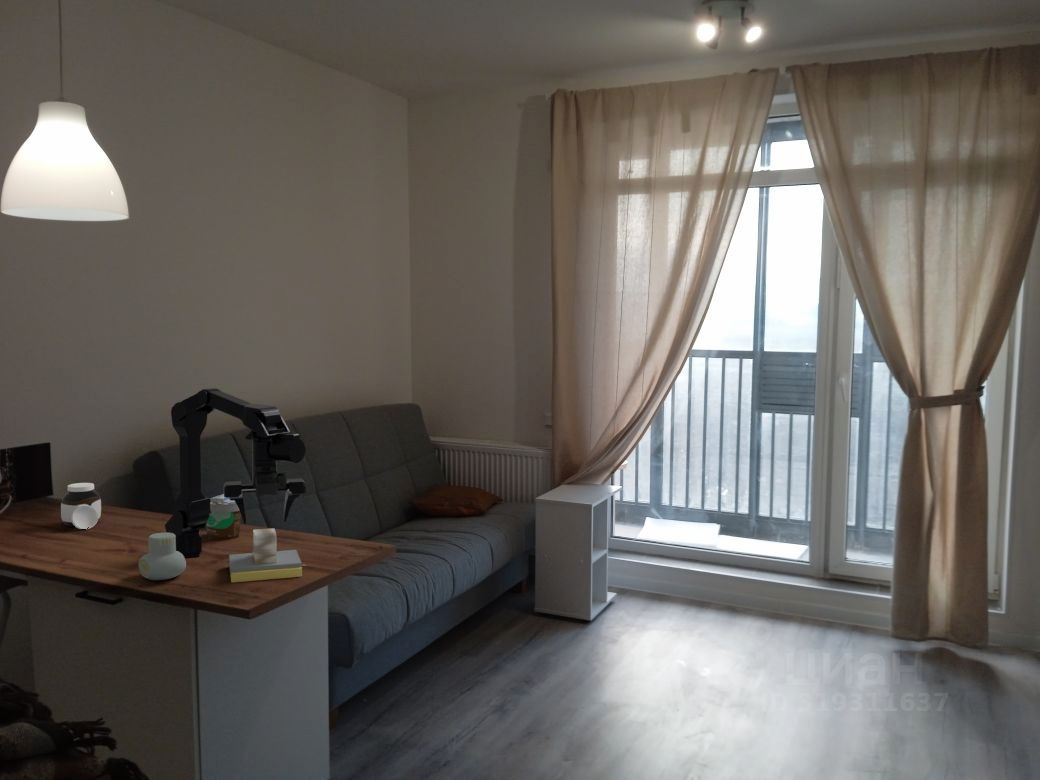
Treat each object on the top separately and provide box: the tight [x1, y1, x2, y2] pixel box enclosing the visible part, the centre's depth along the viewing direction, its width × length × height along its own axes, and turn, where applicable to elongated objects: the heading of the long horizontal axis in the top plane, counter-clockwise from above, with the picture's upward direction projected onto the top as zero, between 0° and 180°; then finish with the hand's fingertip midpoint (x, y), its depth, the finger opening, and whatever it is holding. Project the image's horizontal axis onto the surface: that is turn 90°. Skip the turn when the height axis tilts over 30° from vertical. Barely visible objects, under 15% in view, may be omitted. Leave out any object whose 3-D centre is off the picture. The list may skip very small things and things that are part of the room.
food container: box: [205, 502, 242, 541], centre depth 232 cm, size 12×6×10 cm, turn 68°
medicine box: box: [210, 493, 236, 504], centre depth 247 cm, size 8×4×9 cm, turn 168°
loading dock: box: [228, 549, 303, 583], centre depth 203 cm, size 16×13×3 cm
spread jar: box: [60, 482, 102, 530], centre depth 242 cm, size 12×11×12 cm
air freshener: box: [138, 532, 187, 581], centre depth 197 cm, size 11×8×10 cm
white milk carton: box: [252, 527, 278, 564], centre depth 203 cm, size 5×8×6 cm, turn 21°
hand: (265, 522), depth 203 cm, fingers open, 9 cm apart
